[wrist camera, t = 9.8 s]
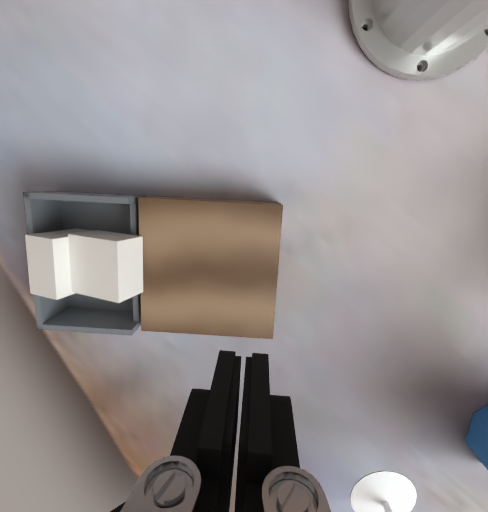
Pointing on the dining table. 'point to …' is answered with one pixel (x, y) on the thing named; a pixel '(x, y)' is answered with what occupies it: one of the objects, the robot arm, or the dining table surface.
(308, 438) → the dining table surface
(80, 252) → the tile front
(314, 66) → the dining table surface
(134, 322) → the tray
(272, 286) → the board
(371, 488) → the wineglass
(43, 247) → the tile rear
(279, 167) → the dining table surface
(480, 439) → the water bottle
